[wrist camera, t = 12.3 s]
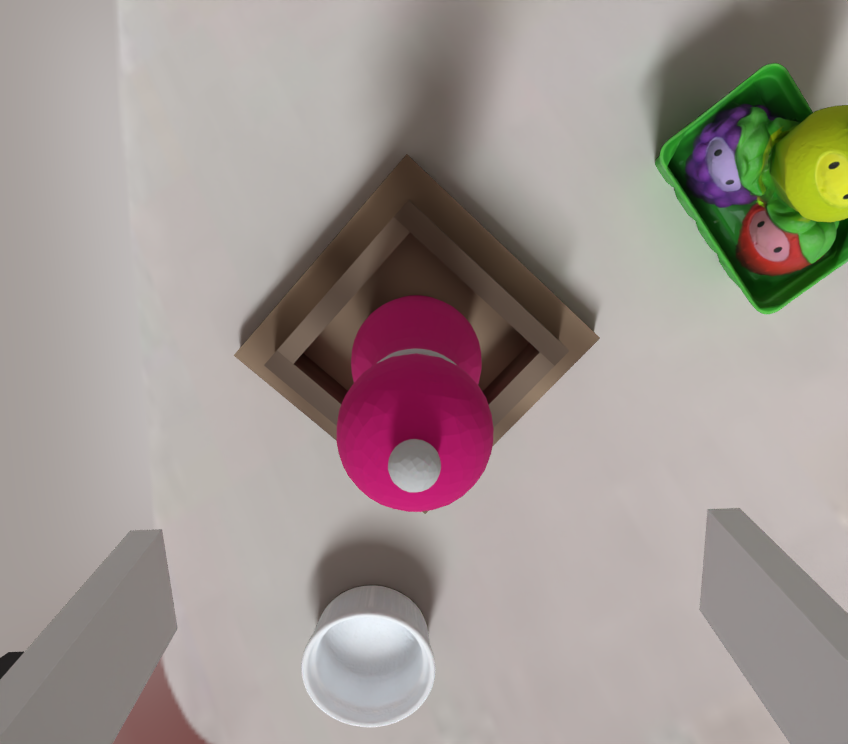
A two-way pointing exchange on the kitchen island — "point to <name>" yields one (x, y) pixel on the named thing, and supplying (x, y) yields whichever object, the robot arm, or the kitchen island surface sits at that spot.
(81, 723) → the robot arm
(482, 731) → the kitchen island surface
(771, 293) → the fruit basket
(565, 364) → the walnut stand
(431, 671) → the ramekin
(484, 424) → the pepper mill
